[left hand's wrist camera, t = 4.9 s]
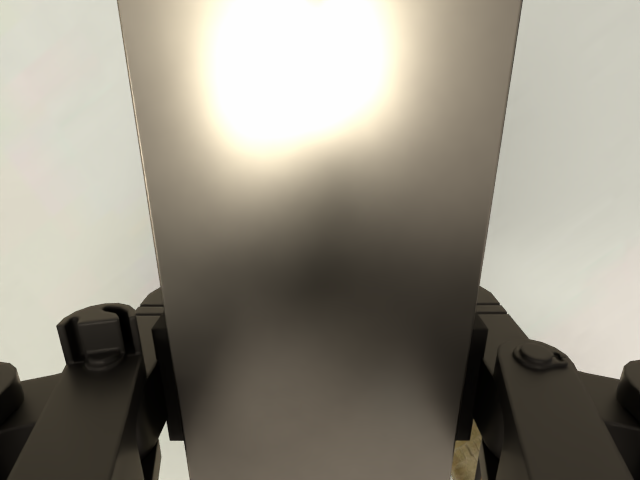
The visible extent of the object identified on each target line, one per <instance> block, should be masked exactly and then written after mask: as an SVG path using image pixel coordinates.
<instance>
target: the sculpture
mask: <svg viewBox="0 0 640 480" xmlns="http://www.w3.org/2000/svg"><path fill="white" fill-rule="evenodd" d="M481 439H482V436H481V434H480V432H479V430H478V427H477V425H476V423H475V421H474V420H473V425H472V431H471V437H470V441H456V442H455V449H454V456H453V462H452V469H451V475H452V478H453V480H474V479H475V472H476V467H477V461H478V456H479V450H480V445H481ZM481 480H482V477H481Z"/></svg>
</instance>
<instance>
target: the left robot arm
mask: <svg viewBox="0 0 640 480" xmlns="http://www.w3.org/2000/svg"><path fill="white" fill-rule="evenodd" d="M56 327H57V330H58V334H59V338H60V342H61V346H62V350H63V353H64V357H65V361H66V366H65V368H64V370H63V372H62V373H59V374H55V375H51V376H46V377H41V378H35V379H30V380H25V381H20V379H19V376H18V372H17V369H16V368H15V367H14V366H13V365H11V364H10V363H4V362H0V480H158V478H159V470H160V463H161V451H160V445H159V439H158V438H159V436H160V433H161V431H162V429H163V427H164V425H165V422H166V421H167V427H168V432H169V438H170V441H184V438H183V431H182V425H181V418H180V411H179V405H178V398H177V392H176V385H175V379H174V372H173V365H172V359H171V352H170V346H169V339H168V333H167V326H166V319H165V313H164V306H163V300H162V293H161V287H160V288H158V289H157V290H155V291H153V292H152V293H150V294H149V295H148V296H147V297H146V298H145V300H144V301H143V302H142V303H141V304H140V307H138V308H137V309H136V311H135V309H133V308H132V307H131V306H129V305H125V304H120V303H105V304H100V305H95V306H90V307H87V308H84V309H81V310H79V311H76V312H74V313H72V314H70V315H69V316H67V317H65V318H64V319H63V320H62V321H61V322H60V323H59V324H58V325H57V326H56ZM473 419H474V421H475V423H476V425H477V427H478V430H479V432H480V434H481V436H482V439H481V445H480V450H479V456H478V461H477V467H476V472H475V479H474V480H481V477H482V480H640V360H636V361H630V362H629V363H627V364H626V365H625V366H624V368H623V371H622V374H621V378H620V380H619V379H614V378H609V377H604V376H599V375H594V374H589V373H584V372H580V371H577V369H576V367H575V365H574V364H573V362H572V361H571V360H570V359H569V358H568V356H567V355H565V354H564V353H562V352H561V351H559V350H558V349H556V348H555V347H552V346H550V345H548V344H545V343H543V342H539V341H535V340H530V339H529V338H528V337H527V336H526V335H525V333H524V332H523V331H522V330H521V329H520V327H519V326H518V325H517V324H516V323H515V321H514V320H513V319H512V318H511V316H510V315H509V314H507V312H506V310H505V309H504V308H503V307H502V305H500V303H499V302H498V301H497V299H496V298H495V297H494V296H493V295H492V293H491V292H489V291H487V290H486V289H484V288H482V287H481V286H479V291H478V298H477V304H476V311H475V317H474V324H473V331H472V337H471V344H470V350H469V357H468V363H467V370H466V377H465V383H464V390H463V396H462V403H461V410H460V416H459V423H458V429H457V436H456V441H470V437H471V431H472V425H473Z"/></svg>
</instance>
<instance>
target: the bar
mask: <svg viewBox="0 0 640 480" xmlns="http://www.w3.org/2000/svg"><path fill="white" fill-rule="evenodd" d="M522 2H523V0H117V4H118V11H119V17H120V24H121V30H122V37H123V43H124V50H125V57H126V63H127V70H128V76H129V83H130V89H131V96H132V103H133V109H134V116H135V122H136V129H137V135H138V142H139V149H140V155H141V162H142V168H143V175H144V181H145V188H146V195H147V201H148V208H149V214H150V221H151V227H152V234H153V241H154V247H155V254H156V260H157V267H158V273H159V280H160V287H161V293H162V300H163V306H164V313H165V319H166V326H167V333H168V339H169V346H170V352H171V359H172V365H173V372H174V379H175V385H176V392H177V398H178V405H179V411H180V418H181V425H182V431H183V438H184V444H185V451H186V457H187V464H188V470H189V477H190V480H450V475H451V469H452V462H453V456H454V449H455V442H456V436H457V429H458V423H459V416H460V410H461V403H462V396H463V390H464V383H465V377H466V370H467V363H468V357H469V350H470V344H471V337H472V331H473V324H474V317H475V311H476V304H477V298H478V291H479V285H480V278H481V271H482V265H483V258H484V252H485V245H486V239H487V232H488V225H489V219H490V212H491V206H492V199H493V193H494V186H495V179H496V173H497V166H498V160H499V153H500V146H501V140H502V133H503V127H504V120H505V114H506V107H507V100H508V94H509V87H510V81H511V74H512V68H513V61H514V54H515V48H516V41H517V35H518V28H519V22H520V15H521V8H522Z"/></svg>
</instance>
